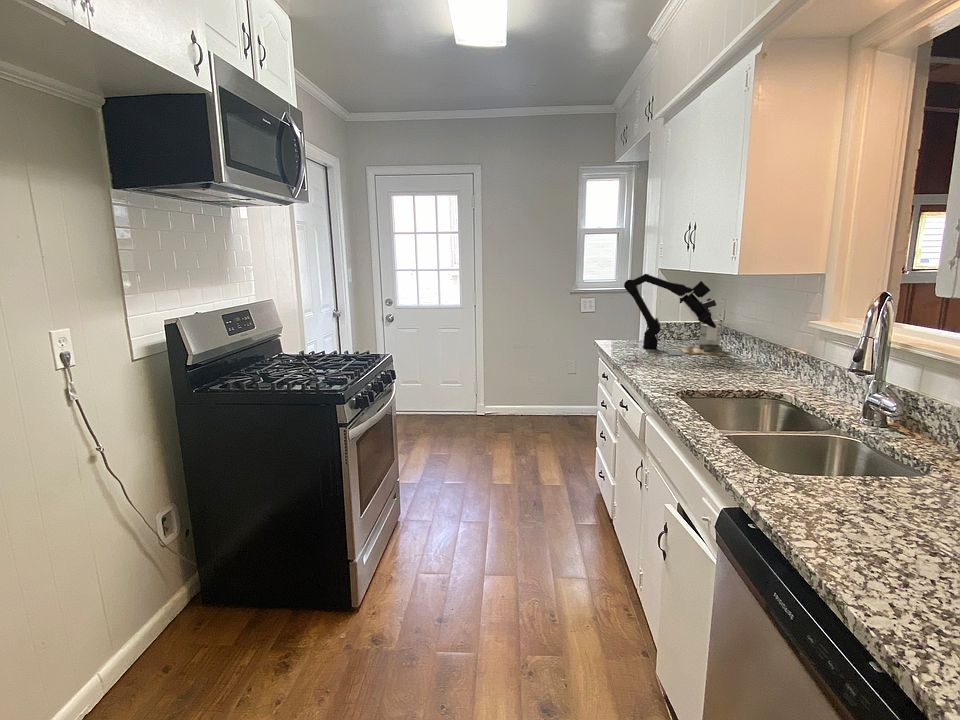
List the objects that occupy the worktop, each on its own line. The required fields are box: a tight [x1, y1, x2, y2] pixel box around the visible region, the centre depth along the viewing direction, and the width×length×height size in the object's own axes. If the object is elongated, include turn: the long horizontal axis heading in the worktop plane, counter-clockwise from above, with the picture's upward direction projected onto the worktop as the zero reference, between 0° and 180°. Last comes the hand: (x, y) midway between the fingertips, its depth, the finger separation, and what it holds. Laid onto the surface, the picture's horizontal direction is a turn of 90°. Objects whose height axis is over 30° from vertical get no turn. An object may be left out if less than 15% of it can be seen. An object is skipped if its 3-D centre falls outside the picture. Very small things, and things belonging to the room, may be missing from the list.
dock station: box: [679, 343, 723, 356], centre depth 266 cm, size 19×13×4 cm
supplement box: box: [698, 323, 722, 348], centre depth 276 cm, size 7×7×13 cm
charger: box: [706, 319, 719, 341], centre depth 265 cm, size 5×4×10 cm
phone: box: [666, 349, 683, 357], centre depth 262 cm, size 6×12×1 cm, turn 166°
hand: (715, 326), depth 264 cm, fingers closed on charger, 4 cm apart
